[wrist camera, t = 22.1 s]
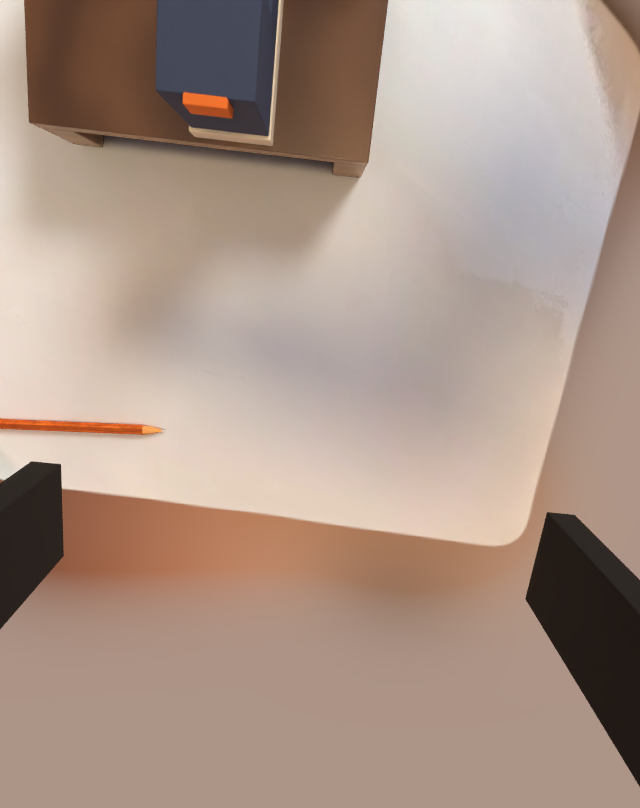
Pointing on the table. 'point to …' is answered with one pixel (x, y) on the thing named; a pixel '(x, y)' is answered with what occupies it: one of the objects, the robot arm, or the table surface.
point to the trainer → (220, 66)
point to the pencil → (77, 427)
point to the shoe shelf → (157, 121)
